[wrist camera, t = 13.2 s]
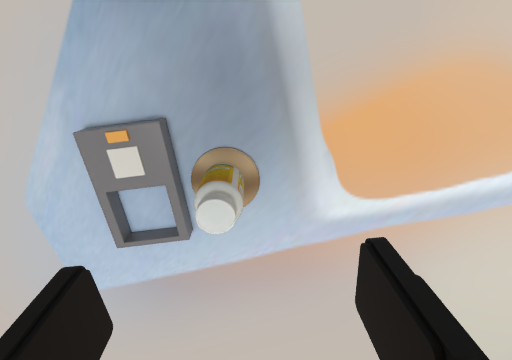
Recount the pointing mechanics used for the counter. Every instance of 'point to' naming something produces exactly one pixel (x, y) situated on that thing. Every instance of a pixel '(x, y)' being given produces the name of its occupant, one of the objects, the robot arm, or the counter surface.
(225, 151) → the cork coaster
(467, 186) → the counter surface
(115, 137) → the gray rectangular fixture
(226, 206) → the supplement bottle
